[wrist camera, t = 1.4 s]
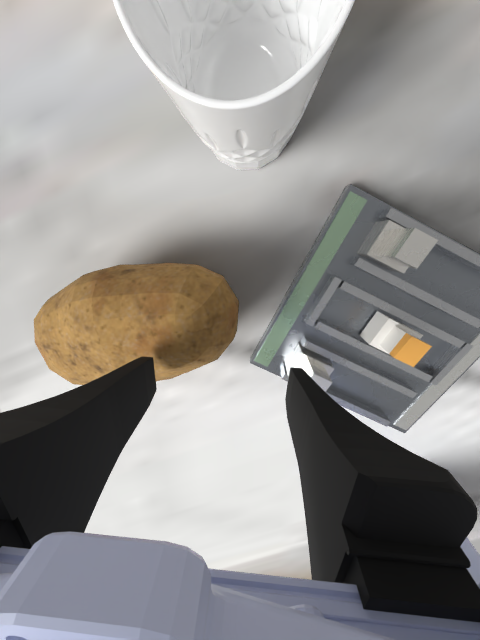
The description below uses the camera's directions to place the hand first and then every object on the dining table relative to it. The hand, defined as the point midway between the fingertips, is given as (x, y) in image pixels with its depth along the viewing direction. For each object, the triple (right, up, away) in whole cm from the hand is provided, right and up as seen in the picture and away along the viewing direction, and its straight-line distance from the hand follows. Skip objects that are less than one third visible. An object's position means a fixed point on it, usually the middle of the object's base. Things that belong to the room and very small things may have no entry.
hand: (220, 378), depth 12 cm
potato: (-6, +4, +9) cm, 12 cm away
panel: (+13, +3, +8) cm, 16 cm away
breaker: (+13, +2, +7) cm, 15 cm away
